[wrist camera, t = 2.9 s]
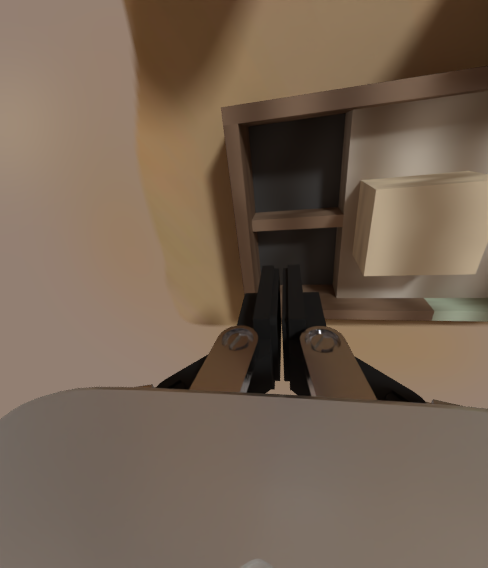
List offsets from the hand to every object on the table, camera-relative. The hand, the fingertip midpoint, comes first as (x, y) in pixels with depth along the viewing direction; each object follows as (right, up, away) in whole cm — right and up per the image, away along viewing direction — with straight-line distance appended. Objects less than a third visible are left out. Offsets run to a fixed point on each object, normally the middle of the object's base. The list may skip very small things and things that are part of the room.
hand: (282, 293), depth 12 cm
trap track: (+11, +7, +10) cm, 17 cm away
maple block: (+11, +6, +8) cm, 14 cm away
